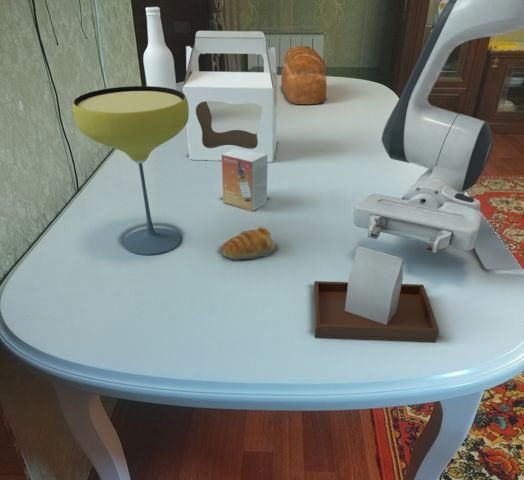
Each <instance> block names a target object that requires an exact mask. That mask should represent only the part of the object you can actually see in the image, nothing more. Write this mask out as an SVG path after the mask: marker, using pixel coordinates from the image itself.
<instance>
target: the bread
mask: <svg viewBox="0 0 524 480" xmlns="http://www.w3.org/2000/svg"><path fill="white" fill-rule="evenodd" d="M325 72H326V66H325V61H324V59H323V57H322V56H320V54H319V53H318V52H317V50H315V49H313V48H311V47H310V46H308V45H307V46H306V45H297V46H295V47H291V48H290V49H289V50H287V51H286V54H285V55H284V57H283V68H282V70H281V76H280V78H281V81H280V82H281V85H280V86H281V89H282V92H283V94H284V95H285V98H286V99H287V100H288V102H289V103H292V104H293V105H318V104H322V103H325V100H326V98H327V76H326V74H325Z"/></svg>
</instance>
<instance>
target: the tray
mask: <svg viewBox="0 0 524 480" xmlns="http://www.w3.org/2000/svg"><path fill="white" fill-rule="evenodd" d="M313 282H314V284H313V318H314V320H313V321H314V322H313V323H314V325H313V326H314V338H316V339H317V338H319V339H342V340H343V339H344V340H365V341H366V340H369V341H393V342H419V343H422V342H423V343H436V342H437V340H438V336H439V333H440V329H439V326H438V323H437V320H436V318H435V315H434V312H433V308H432V305H431V303H430V300H429V297H428V295H427V291H426V289H425V286H424V284H418V283H417V284H416V283H415V284H414V283H409V284H408V283H402V285H401V290H400V295H399V300H398V305H397V310H396V313H395V315H394V316H393V317H392V319H391V320H390V321H389V322H388V324H387V325H385V324H382V323H379V322H376V321H373V320H370V319H367V318H365V317H362V316H359V315H356V314H353V313H350V312H347V311H345V304H346V296H347V288H348V281H327V280H326V281H321V280H319V281H318V280H315V281H313Z"/></svg>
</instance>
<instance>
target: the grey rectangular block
mask: <svg viewBox="0 0 524 480" xmlns="http://www.w3.org/2000/svg"><path fill="white" fill-rule="evenodd" d="M403 273H404V258H403V257H400V256H397V255H392V254H388V253H385V252H382V251H378V250H375V249H371V248H367V247H364V246H360V245H358V246H357V247H356V251H355V254H354V259H353V262H352V266H351V268H350V272H349V275H348V281H347V282H348V288H347V296H346V304H345V311H347V312H350V313H353V314H356V315H359V316H362V317H365V318H367V319H370V320H373V321H376V322H379V323H382V324H385V325H387V324H388V322H389V321H390V320H391V319H392V317H393V316H394V315H395V313H396V310H397V305H398V300H399V295H400V290H401V285H402V284H403V280H404V279H403V278H404V274H403Z"/></svg>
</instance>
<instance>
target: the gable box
mask: <svg viewBox="0 0 524 480" xmlns="http://www.w3.org/2000/svg"><path fill="white" fill-rule="evenodd" d="M201 54H202V55H206V54H232V55H236V54H237V55H261V56H262V59H263V71H243V70H242V71H241V70H240V71H239V70H236V71H235V70H234V71H232V70H200V63H199V62H200V61H199V57H200V55H201ZM185 57H186V58H185V59H186V60H185V61H186V65H185V67H186V70H185V71H186V73H185V77H184V81H183V85H182V90H183V91H182V93H184V94H185V96H186V98H187V102H188V109H189V116H188V122H187V124H186V125H185V126H186V135H187V142H188V143H187V146H188V158H189V160H190V161H205V160H207V161H208V162H209V161H210V162H222V154H224V153H226V152H228V151H231V150H233V149H236V148H240V149H243V150H247V151H251V152H256V153H260V154H267V163H274V158H275V154H276V150H277V138H278V137H277V134H278V133H277V131H278V129H277V128H278V126H277V125H278V74H277V73H278V70H277V52H276V46H271V47H269V45H268V44H267V41H266V35H265V33H264V32H263V31H261V30H198V31H196V33H195V37H194V44H193V45H192V46H191V45H186V46H185ZM207 102H218V103H223V104H228V105H242V104H243V105H244V104H254V105H257V106H259V107H260V108H261V110H262V111H261V116H260V119H259V122H258V125H257V129H256V133H251V132H249V131H246V130H243V129H232V130H226V131H221V132H216V131H215V130H213V128H212V123H213V122H212V121H213V117H212V112H211V109H210V106H209V105H208V103H207Z"/></svg>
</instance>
